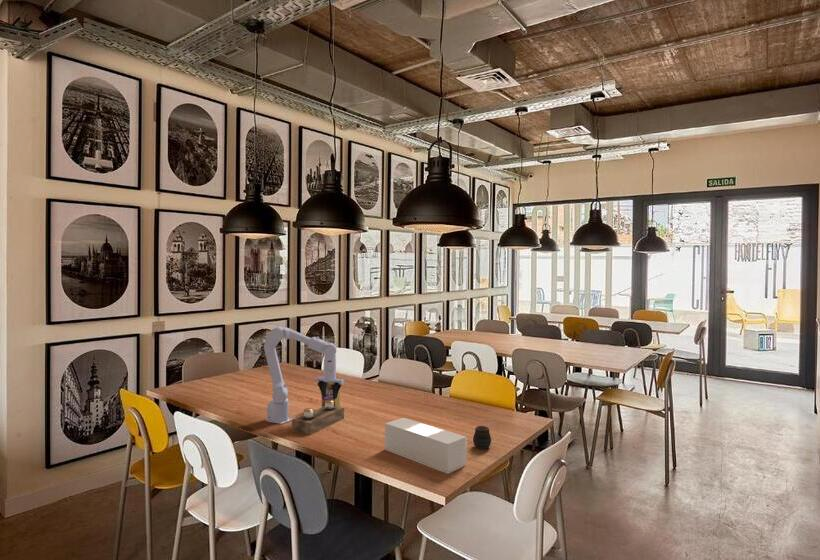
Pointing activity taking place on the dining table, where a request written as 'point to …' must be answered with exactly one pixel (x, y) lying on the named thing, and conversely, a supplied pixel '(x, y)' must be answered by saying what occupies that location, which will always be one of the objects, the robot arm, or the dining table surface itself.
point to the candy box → (331, 396)
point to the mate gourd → (482, 437)
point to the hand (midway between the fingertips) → (329, 397)
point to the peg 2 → (329, 405)
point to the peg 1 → (308, 414)
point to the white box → (426, 444)
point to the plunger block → (317, 420)
